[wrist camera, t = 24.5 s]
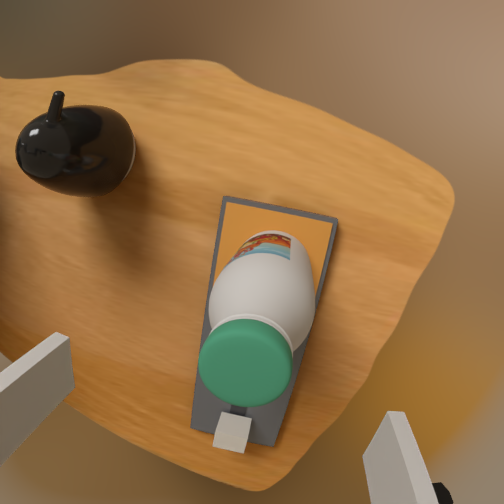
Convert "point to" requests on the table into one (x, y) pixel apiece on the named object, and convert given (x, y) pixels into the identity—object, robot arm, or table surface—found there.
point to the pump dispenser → (76, 149)
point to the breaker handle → (232, 432)
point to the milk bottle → (258, 320)
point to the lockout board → (227, 244)
